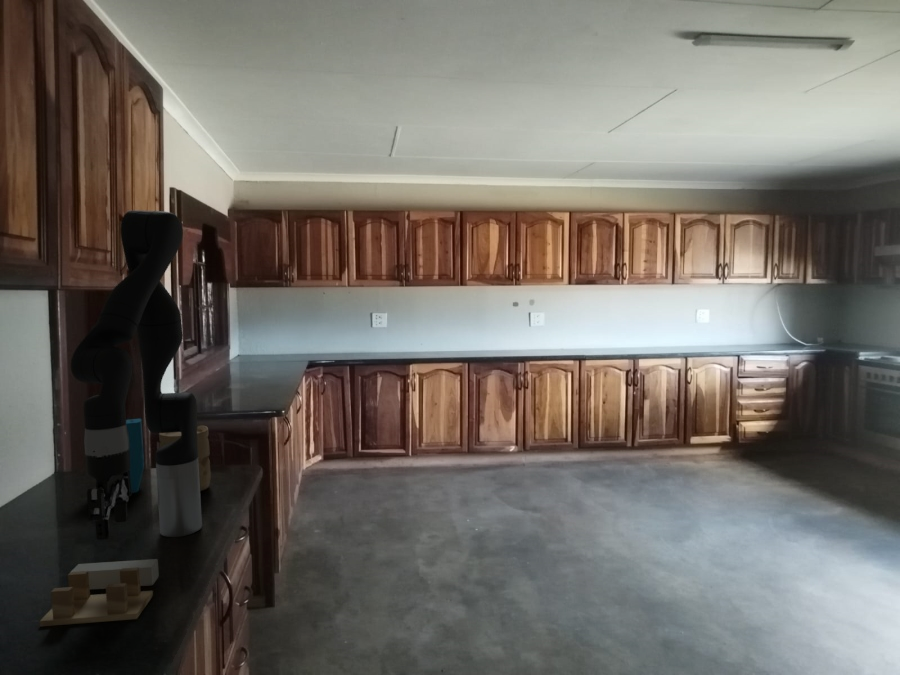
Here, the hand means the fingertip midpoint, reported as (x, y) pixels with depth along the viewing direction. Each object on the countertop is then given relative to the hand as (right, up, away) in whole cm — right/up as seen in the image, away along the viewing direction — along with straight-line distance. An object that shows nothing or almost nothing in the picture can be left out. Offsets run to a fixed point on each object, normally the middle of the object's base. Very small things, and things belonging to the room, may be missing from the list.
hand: (112, 529), depth 119 cm
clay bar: (0, -11, +1) cm, 12 cm away
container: (-8, -6, +52) cm, 53 cm away
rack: (+2, -12, -8) cm, 15 cm away
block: (-27, -6, +53) cm, 60 cm away
